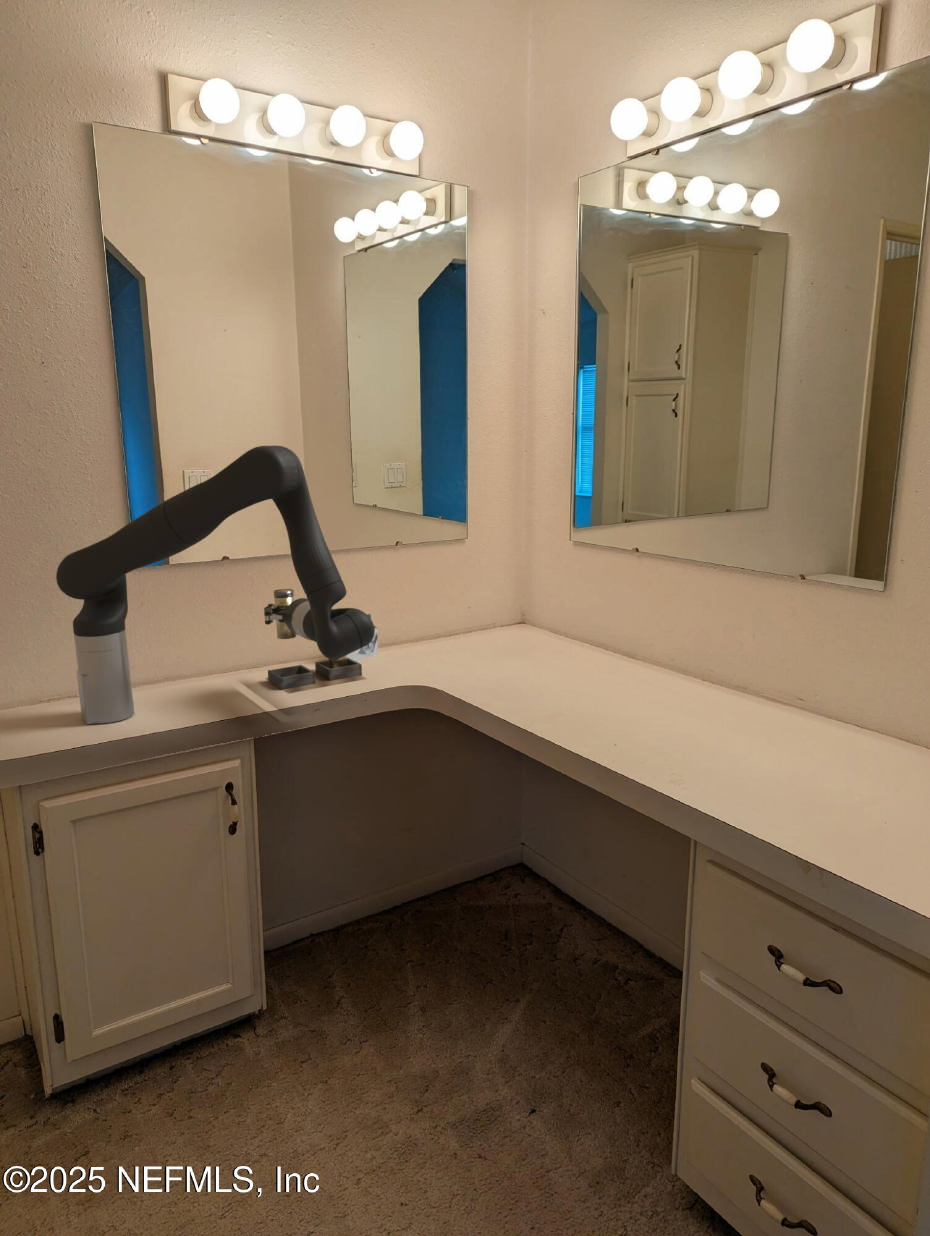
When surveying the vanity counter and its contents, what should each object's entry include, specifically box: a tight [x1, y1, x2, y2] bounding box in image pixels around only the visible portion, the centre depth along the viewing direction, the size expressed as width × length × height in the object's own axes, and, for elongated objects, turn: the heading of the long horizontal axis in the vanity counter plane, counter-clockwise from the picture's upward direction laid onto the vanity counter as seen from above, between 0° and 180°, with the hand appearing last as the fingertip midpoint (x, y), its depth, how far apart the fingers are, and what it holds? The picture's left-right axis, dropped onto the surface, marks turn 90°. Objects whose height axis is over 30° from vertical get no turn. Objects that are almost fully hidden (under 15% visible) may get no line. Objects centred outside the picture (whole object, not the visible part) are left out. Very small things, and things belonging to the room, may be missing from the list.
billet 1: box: [273, 588, 297, 640], centre depth 179 cm, size 4×4×10 cm
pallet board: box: [265, 658, 368, 694], centre depth 185 cm, size 19×14×4 cm
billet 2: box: [328, 655, 347, 669], centre depth 187 cm, size 4×4×10 cm
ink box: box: [347, 613, 379, 662], centre depth 200 cm, size 12×2×12 cm, turn 143°
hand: (280, 607), depth 181 cm, fingers closed on billet 1, 4 cm apart
